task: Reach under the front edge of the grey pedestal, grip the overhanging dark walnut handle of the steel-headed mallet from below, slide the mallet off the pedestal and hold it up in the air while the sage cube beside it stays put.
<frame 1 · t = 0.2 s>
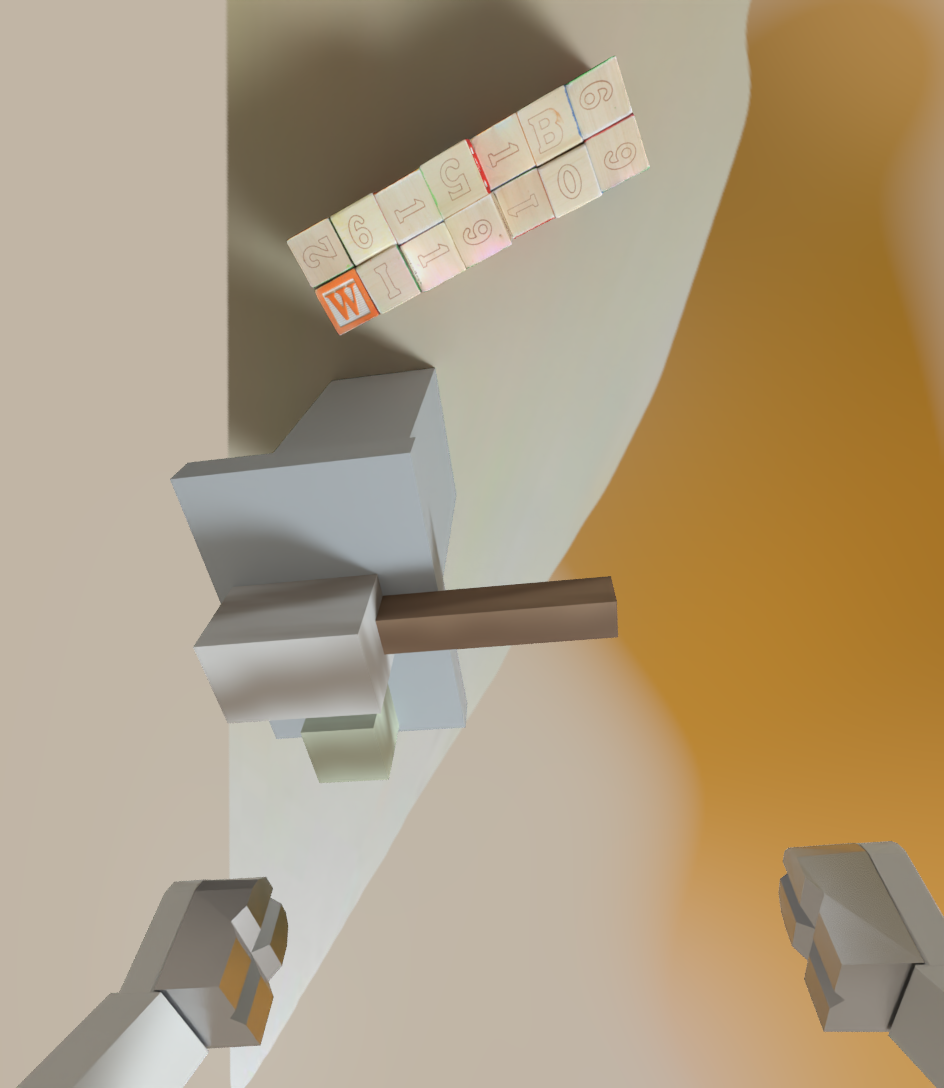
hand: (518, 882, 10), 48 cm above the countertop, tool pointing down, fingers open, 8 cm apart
grey pedestal: (402, 439, 58), on the countertop
steel-headed mallet: (316, 618, 36), point 26 cm above the countertop, touching grey pedestal
sage cube: (360, 703, 39), point 26 cm above the countertop, touching grey pedestal
stack of blocks: (475, 197, 48), on the countertop
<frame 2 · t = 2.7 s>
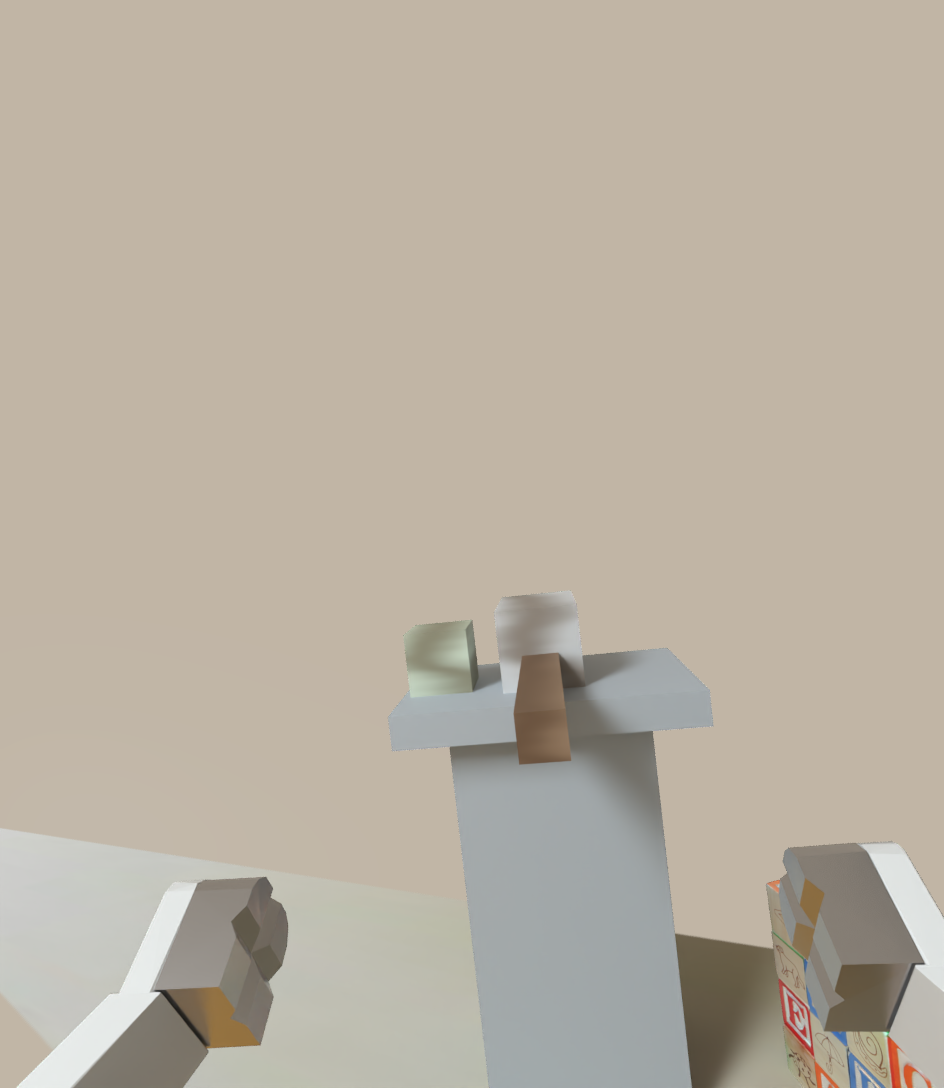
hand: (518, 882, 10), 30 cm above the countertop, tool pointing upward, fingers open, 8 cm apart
grey pedestal: (588, 1067, 43), on the countertop
steel-headed mallet: (544, 674, 43), point 26 cm above the countertop, touching grey pedestal
sage cube: (446, 686, 43), point 26 cm above the countertop, touching grey pedestal
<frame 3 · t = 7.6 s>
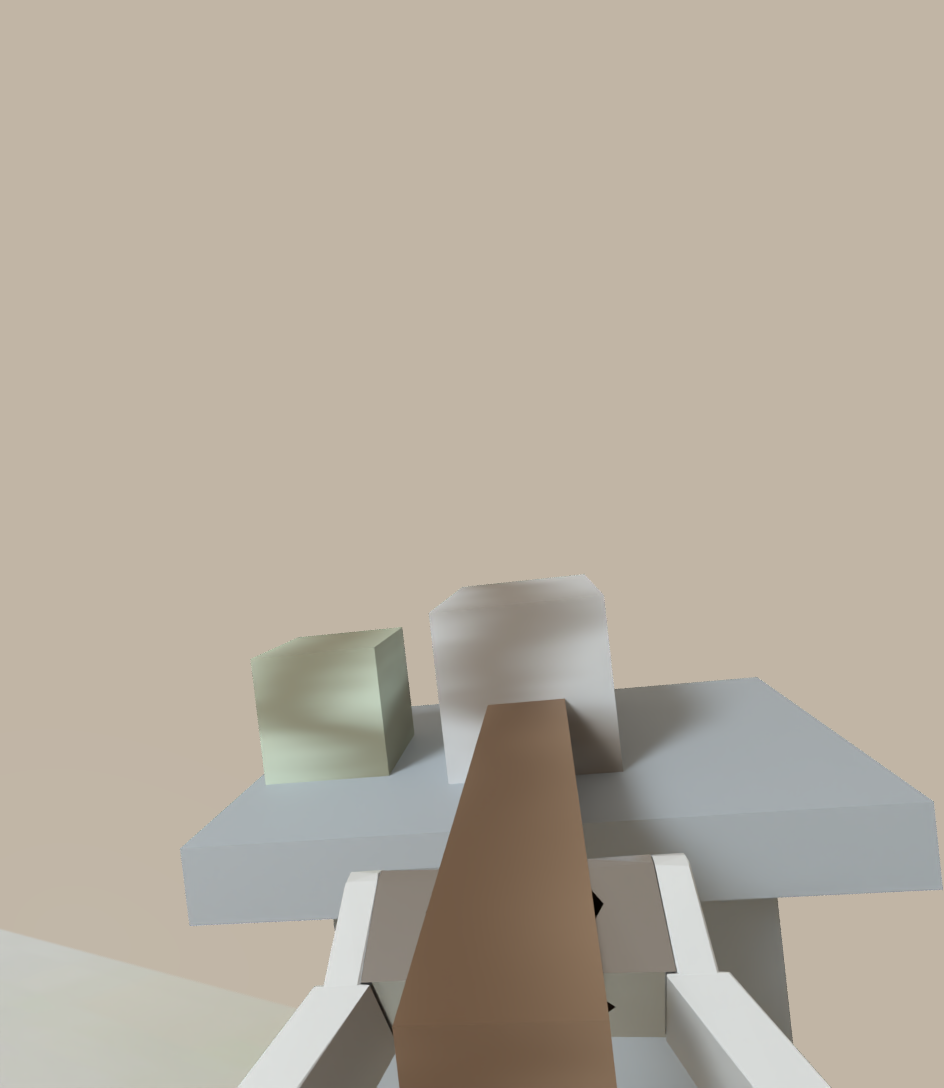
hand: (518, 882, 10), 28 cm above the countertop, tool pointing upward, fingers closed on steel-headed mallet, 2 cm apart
steel-headed mallet: (535, 733, 22), point 26 cm above the countertop, touching grey pedestal, gripper
sage cube: (346, 757, 22), point 26 cm above the countertop, touching grey pedestal
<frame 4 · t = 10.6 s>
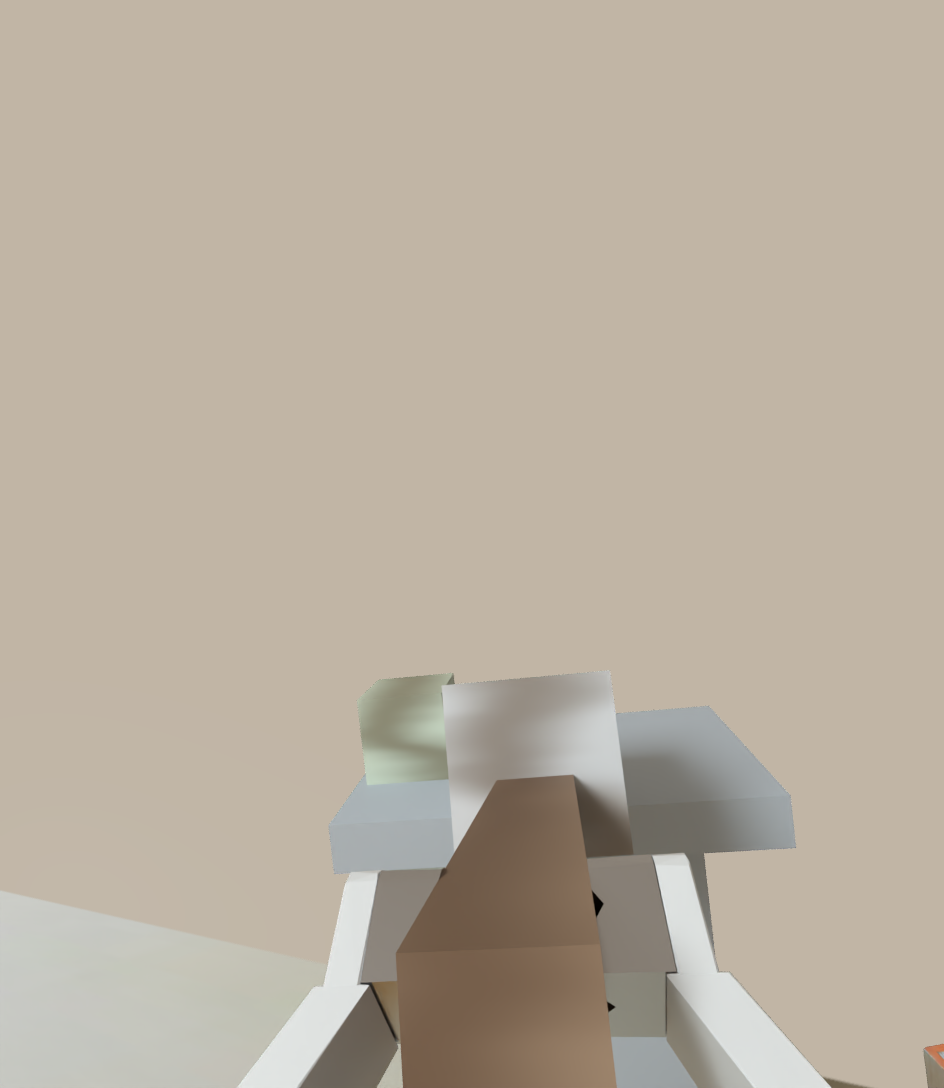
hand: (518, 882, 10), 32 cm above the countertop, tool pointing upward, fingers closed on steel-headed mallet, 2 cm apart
steel-headed mallet: (545, 827, 22), point 27 cm above the countertop, tilted 13°, touching gripper
sage cube: (417, 766, 32), point 26 cm above the countertop, touching grey pedestal
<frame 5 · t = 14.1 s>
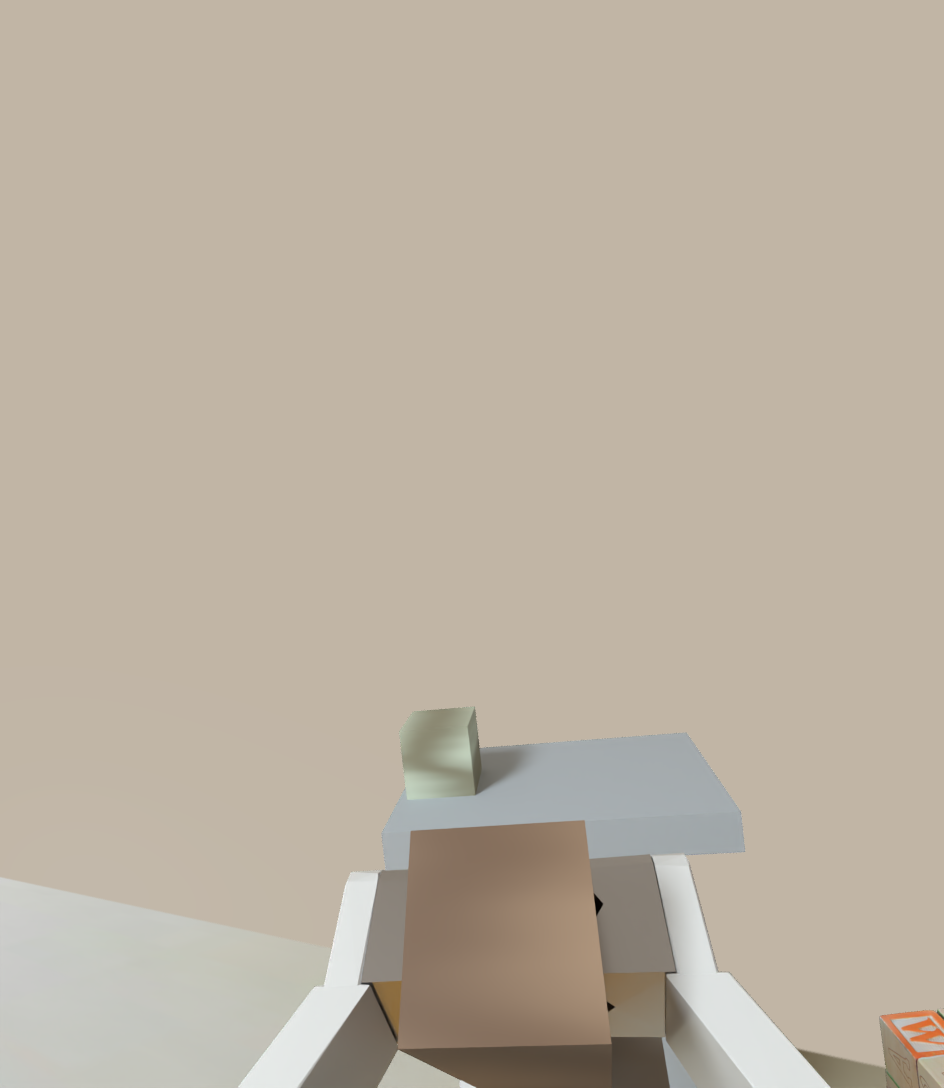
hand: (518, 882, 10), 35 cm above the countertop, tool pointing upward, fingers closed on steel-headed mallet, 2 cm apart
sage cube: (446, 783, 39), point 26 cm above the countertop, touching grey pedestal
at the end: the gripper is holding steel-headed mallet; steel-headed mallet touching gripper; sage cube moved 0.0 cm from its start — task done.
